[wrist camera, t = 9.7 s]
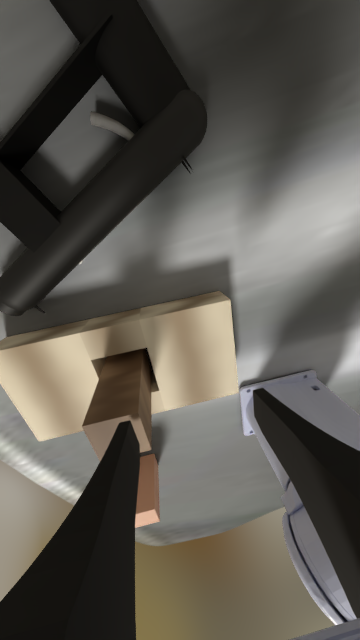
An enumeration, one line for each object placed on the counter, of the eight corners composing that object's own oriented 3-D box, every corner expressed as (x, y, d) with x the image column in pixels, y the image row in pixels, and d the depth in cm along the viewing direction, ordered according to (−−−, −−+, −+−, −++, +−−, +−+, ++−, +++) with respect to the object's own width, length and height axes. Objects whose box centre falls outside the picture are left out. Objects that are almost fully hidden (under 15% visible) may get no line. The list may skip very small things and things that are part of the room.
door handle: (-245, 126, 11) (24, 333, 16) (-9, -283, 8) (232, 132, 13) (-154, 153, 14) (46, 319, 19) (39, -132, 11) (217, 154, 16)
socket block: (219, 290, 20) (230, 299, 17) (228, 374, 24) (238, 392, 21) (6, 337, 19) (-20, 354, 16) (52, 416, 23) (39, 441, 20)
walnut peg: (143, 342, 21) (138, 412, 12) (151, 369, 22) (151, 449, 14) (109, 349, 20) (81, 426, 12) (119, 376, 22) (100, 462, 14)
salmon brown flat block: (153, 453, 27) (154, 509, 21) (158, 464, 28) (159, 521, 22) (108, 464, 27) (97, 524, 21) (114, 476, 28) (104, 536, 22)
